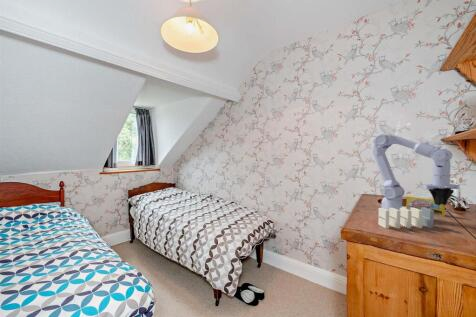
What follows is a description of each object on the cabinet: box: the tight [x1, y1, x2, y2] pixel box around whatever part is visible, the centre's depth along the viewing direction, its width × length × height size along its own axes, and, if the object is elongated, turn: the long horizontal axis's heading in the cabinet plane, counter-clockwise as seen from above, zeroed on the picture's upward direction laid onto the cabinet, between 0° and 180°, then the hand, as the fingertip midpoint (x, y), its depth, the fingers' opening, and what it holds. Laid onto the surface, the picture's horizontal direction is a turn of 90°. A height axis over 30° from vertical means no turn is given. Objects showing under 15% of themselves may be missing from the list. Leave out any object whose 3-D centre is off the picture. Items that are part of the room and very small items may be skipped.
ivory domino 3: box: [400, 207, 412, 229], centre depth 100 cm, size 2×5×8 cm, turn 0°
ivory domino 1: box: [378, 207, 390, 229], centre depth 100 cm, size 2×5×8 cm, turn 0°
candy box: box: [405, 195, 446, 217], centre depth 120 cm, size 16×2×8 cm, turn 37°
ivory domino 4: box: [410, 208, 423, 229], centre depth 100 cm, size 2×5×8 cm, turn 0°
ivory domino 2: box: [389, 208, 401, 229], centre depth 100 cm, size 2×5×8 cm, turn 0°
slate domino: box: [421, 207, 435, 229], centre depth 100 cm, size 2×5×8 cm, turn 0°
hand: (440, 204), depth 100 cm, fingers open, 2 cm apart
